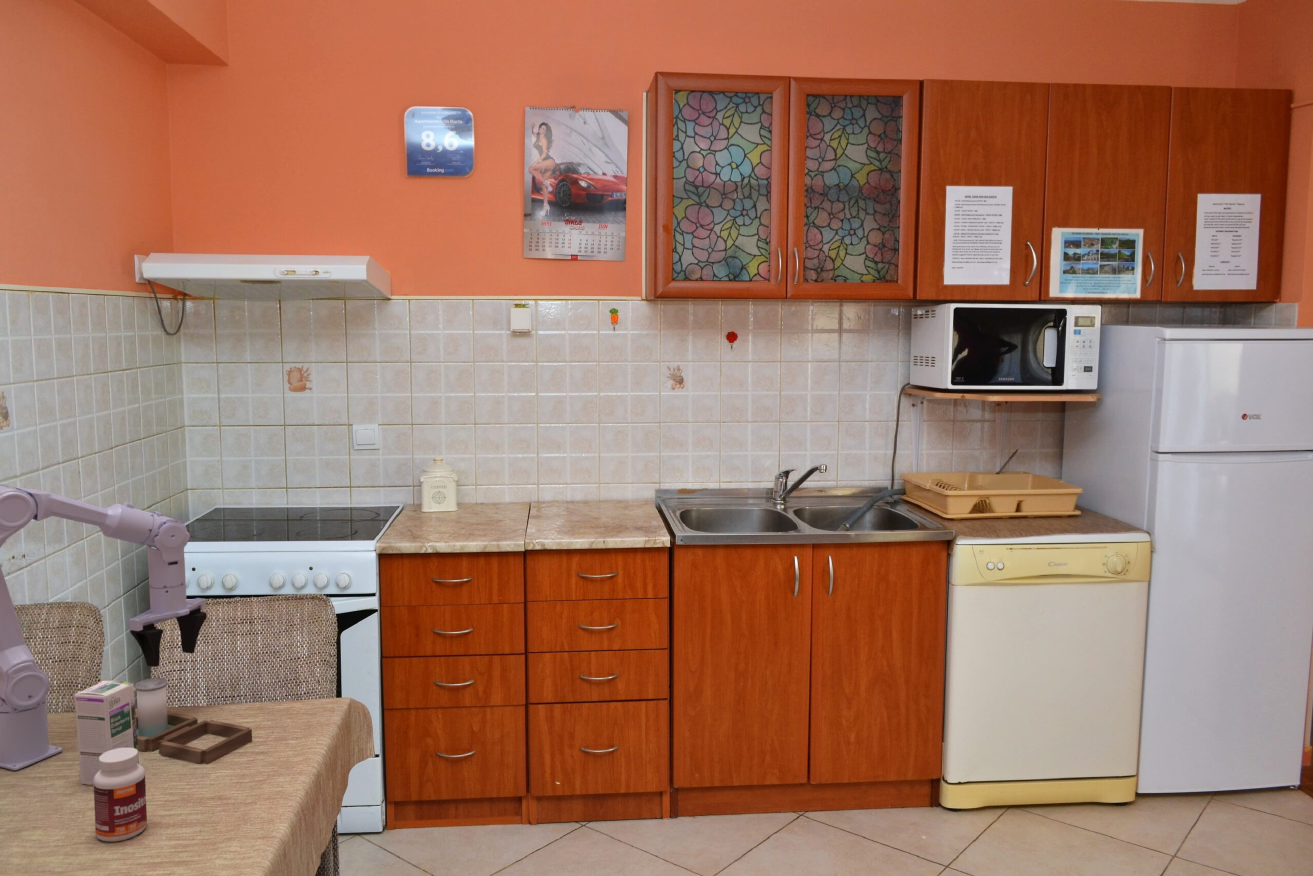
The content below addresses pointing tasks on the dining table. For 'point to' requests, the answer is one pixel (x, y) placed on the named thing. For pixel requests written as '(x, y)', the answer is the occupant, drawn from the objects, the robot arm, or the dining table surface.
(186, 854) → the dining table surface
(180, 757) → the brown flat frame
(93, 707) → the syrup box
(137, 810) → the pill bottle
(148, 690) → the tube
